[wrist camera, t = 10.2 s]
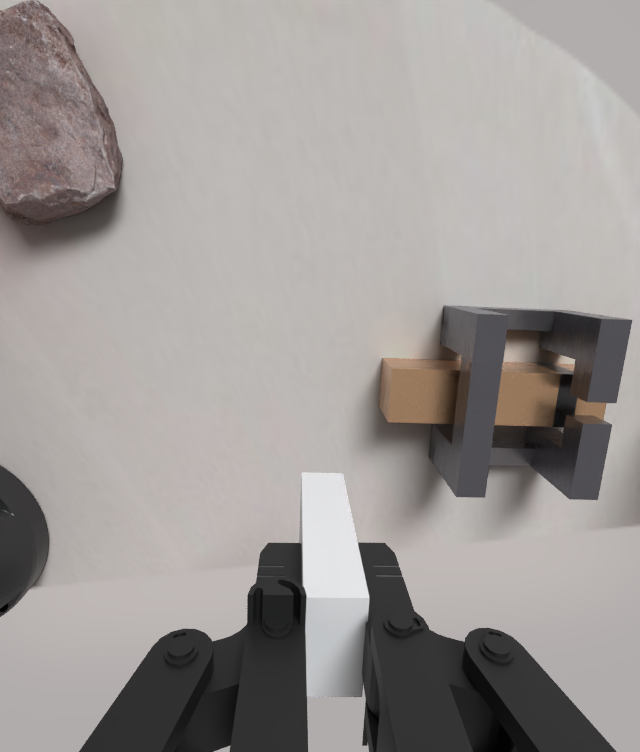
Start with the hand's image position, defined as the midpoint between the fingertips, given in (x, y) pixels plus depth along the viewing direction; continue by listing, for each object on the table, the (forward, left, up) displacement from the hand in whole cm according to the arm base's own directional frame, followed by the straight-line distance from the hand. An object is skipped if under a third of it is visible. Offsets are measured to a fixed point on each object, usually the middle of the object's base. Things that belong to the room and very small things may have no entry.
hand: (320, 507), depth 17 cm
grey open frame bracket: (+15, 0, -20) cm, 25 cm away
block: (+14, 0, -20) cm, 24 cm away
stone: (-19, +17, -21) cm, 33 cm away
